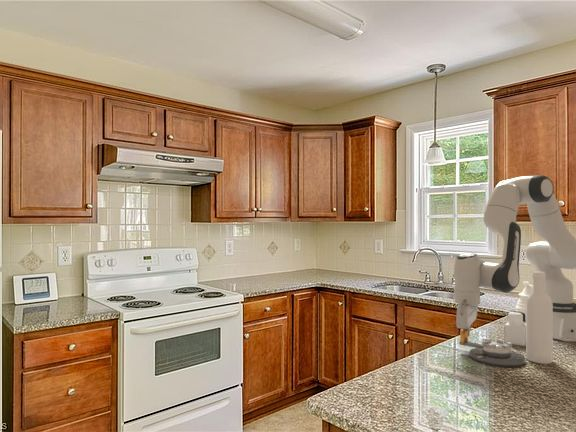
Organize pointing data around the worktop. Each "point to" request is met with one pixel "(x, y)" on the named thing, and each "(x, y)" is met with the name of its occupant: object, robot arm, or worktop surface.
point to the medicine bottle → (515, 328)
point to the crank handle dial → (488, 346)
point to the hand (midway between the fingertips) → (466, 335)
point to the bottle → (539, 323)
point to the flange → (497, 359)
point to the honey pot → (524, 298)
